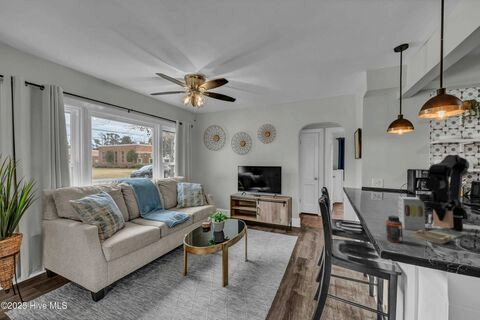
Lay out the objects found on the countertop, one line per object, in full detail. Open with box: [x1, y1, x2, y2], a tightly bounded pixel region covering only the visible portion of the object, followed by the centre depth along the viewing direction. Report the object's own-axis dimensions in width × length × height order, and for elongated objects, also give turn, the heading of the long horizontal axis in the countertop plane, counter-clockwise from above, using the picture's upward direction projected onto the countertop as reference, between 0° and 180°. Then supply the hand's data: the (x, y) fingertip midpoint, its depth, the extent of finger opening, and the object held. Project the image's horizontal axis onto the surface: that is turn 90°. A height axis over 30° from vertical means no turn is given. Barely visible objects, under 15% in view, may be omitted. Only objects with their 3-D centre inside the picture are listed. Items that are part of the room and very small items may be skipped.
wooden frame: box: [411, 230, 452, 245], centre depth 96 cm, size 9×11×2 cm
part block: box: [432, 209, 453, 230], centre depth 102 cm, size 4×6×8 cm, turn 25°
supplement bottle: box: [385, 215, 404, 244], centre depth 94 cm, size 6×6×11 cm
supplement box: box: [397, 196, 426, 231], centre depth 113 cm, size 10×9×17 cm
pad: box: [428, 228, 463, 240], centre depth 101 cm, size 10×10×1 cm
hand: (443, 220), depth 102 cm, fingers closed on part block, 4 cm apart
